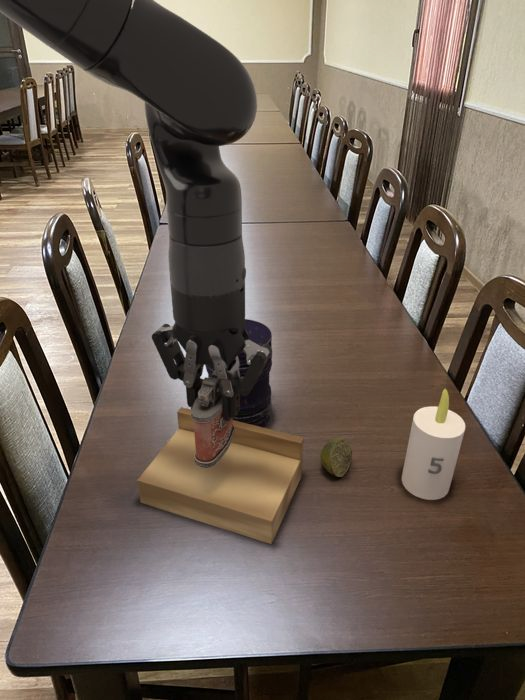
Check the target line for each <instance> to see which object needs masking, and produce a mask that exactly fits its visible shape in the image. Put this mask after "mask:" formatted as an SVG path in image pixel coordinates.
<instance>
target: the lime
mask: <svg viewBox="0 0 525 700" xmlns="http://www.w3.org/2000/svg"><path fill="white" fill-rule="evenodd" d="M319 457H320V462H321V464H322V466H323V467H324V469H325V471H327V473H329V474H331V475H332V476H335V477H337V478H342V477H344V475H345V474H346V473H347V472H348V470H349V469H350V466H351V462H352V460H353V450H352V446H351V443H350V442H349V441H348V440H345V439H343V438H339V437H336V438H333V439H331V440H328V441H327V442H326V443H325V444H324V445H323V447H322V449H321V451H320V456H319Z"/></svg>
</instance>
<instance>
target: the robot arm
mask: <svg viewBox="0 0 525 700" xmlns="http://www.w3.org/2000/svg"><path fill="white" fill-rule="evenodd" d="M0 13H1V14H2V15H4V17H6V18H7V19H9V20H11V22H13V23H15V24H16V25H18V26H19V27H20V28H22V29H23V30H25V31H26V32H27V33H29V34H31V35H32V36H33V37H35V38H36V39H37V40H39V41H40V42H42V43H43V44H44V45H46V46H47V47H49V48H50V49H52V50H54V51H55V52H56V53H58V54H59V55H61V56H62V57H64V58H65V59H67V60H68V61H70V62H71V63H72V64H73V65H75V66H77V67H78V68H80V69H81V70H82V71H84V72H86V73H87V74H89V75H90V76H92V77H94V78H96V79H97V80H99V81H101V82H103V83H105V84H107V85H110V86H112V87H115V88H118V89H120V90H124V91H126V92H128V93H130V94H132V95H134V96H136V97H137V98H139V99H140V100H142V101H143V102H144V112H145V113H144V114H145V119H146V124H147V129H148V133H149V136H150V141H151V145H152V149H153V152H154V155H155V160H156V163H157V167H158V170H159V173H160V175H161V178H162V181H163V182H162V183H163V185H164V189H165V199H166V200H165V202H166V216H167V217H166V218H167V229H168V253H167V254H168V255H167V257H168V259H167V260H168V272H169V282H170V293H171V294H170V296H171V305H172V306H171V307H172V318H173V320H174V323H173V325H170V324H168V323H164V324H162V325H161V326H160V327H159V328H158V329H156V330H155V331H154V332H153V333H152V334H151V340H152V342H153V345H154V346H155V348H156V350H157V352H158V355H159V357H160V359H161V361H162V363H163V366H164V367H165V370H166V372H167V374H168V376H169V378H170V379H172V380H174V381H175V380H179V381H182V383H183V385H184V387H185V394H186V404H187V406H188V407H189V408H190V409H192V407H193V404H194V402H195V400H196V399H197V397H198V392H199V390H200V389H201V386H202V382H203V380H204V378H201V377H202V376H203V372H204V368H205V367H204V366H205V365H209V366H211V367H214V368H215V372H216V375H217V379H218V380H220V381H221V385H222V388H223V392H224V394H223V395H222V408H223V420H225V421H229V422H230V420H231V419H232V418H234V417H235V416H236V414H237V413H238V411H239V409H240V395H242V396H247V395H248V394H249V392H250V390H251V389H252V387H253V386H254V385H255V384H256V382H257V380H258V378H259V376H260V374H261V372H262V370H263V368H264V366H265V364H266V362H267V360H268V358H269V356H270V354H271V352H272V353H273V347H272V348H271V346H270V345H268V344H264V345H262V347H261V346H259V345H258V344H256V343H254V342H252V341H251V340H249V335H248V333H247V331H246V329H245V319H246V277H247V268H246V255H245V249H244V247H245V246H244V241H243V215H242V214H243V207H242V206H243V204H242V202H243V200H242V188H241V183H240V180H239V178H238V177H237V176H236V174H235V173H234V172H233V171H231V170H230V168H229V167H228V166H227V165H226V164H225V163H224V161H223V159H222V156H221V155H222V154H221V149H220V147H224V146H225V147H226V146H228V145H232V144H234V143H236V142H238V141H239V140H241V139H242V138H243V137H245V136H246V134H248V132H249V131H250V129H251V128H252V126H253V124H254V123H255V120H256V117H257V111H258V94H257V90H256V85H255V83H254V81H253V79H252V76H251V75H250V73H249V71H248V69H247V68H246V66H245V65H244V64H243V63H242V61H241V60H240V59H239V58H238V57H237V56H236V55H235V54H234V53H233V52H232V51H230V49H228V48H227V47H225V46H224V45H223V44H222V43H221V42H219V41H218V40H217V39H215V38H213V37H212V36H211V35H208V34H207V33H206V32H204V31H203V30H202V29H199V28H198V27H197V26H195V25H193V24H192V23H191V22H189V21H188V20H186V19H184V18H183V17H182V16H180V15H178V14H176V13H174V12H173V11H171V10H170V9H168V8H166V7H164V6H162V5H161V4H160V3H158V2H157V1H156V0H0ZM182 349H183V350H184V352H185V354H184V352H183V351H182ZM242 350H244V351H245V352H246V355H247V356H246V360H247V364H248V365H250V366H249V368H248V370H247V372H246V374H245V376H244V378H241V376H240V372H239V366H240V363H239V358H238V355H239V353H240V352H241V351H242Z"/></svg>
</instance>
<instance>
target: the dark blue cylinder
mask: <svg viewBox="0 0 525 700" xmlns="http://www.w3.org/2000/svg"><path fill="white" fill-rule="evenodd" d="M245 329H246V331H247V333H248V335H249V340H251V341H252V342H254V343H256V344H258V345H259V346H261V347H262V345H264V344H268V345H270V346H271V348H272V349H273V347H272V346H273V345H272V344H273V343H272V341H273V333H272V330H271V329H270V328H269V327H268V326H267V325H265V324H264V323H263V322H260V321H257V320H253V319H248V318H245ZM246 356H247V355H246V352H245V351H244V350H242V351H241V352H240V353H239V355H238V358H239V363H240V366H239V372H240V376H241V378H244V376H245V374H246V372H247V370H248V368H249V366H250V365H248V364H247V360H246ZM272 359H273V351H272V352H271V354H270V356H269V358H268V360H267V362H266V364H265V366H264V368H263V370H262V372H261V374H260V376H259V378H258V380H257V382H256V384H255V385H254V386H253V387H252V389H251V390H250V392H249V394H248V395H247V396H242V395H240V409H239V411H238V413H237V414H236V416H235V417H234V418H233V420H235V421H239V422H243V423H247V424H251V425H255V426H259V427H263V428H267V426H268V425H269V423H270V420H271V408H272V394H273V393H272V387H271V385H270V372H271V370H272V366H273V360H272ZM204 366H205V371H206V373H207V378H209V377H210V376H211V375H212V373H213V372H214V371H215V368H214V367H211V366H209V365H204Z"/></svg>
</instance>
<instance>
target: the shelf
mask: <svg viewBox="0 0 525 700" xmlns="http://www.w3.org/2000/svg"><path fill="white" fill-rule="evenodd" d="M176 413H177V414H176V415H177V425H178V429H177V430H176V431H175V432H174V434H173V435H171V437H170V439H169V440H168V441H167V442H166V443H165V445H164V446H163V448H162V449H161V450H160V451H159V452H158V454H157V455H156V456H155V458H154V459H152V461H151V462H150V463H149V465H148V466H147V467H146V468H145V470H144V471H143V472H142V473H141V475H140V476H139V477H138V479H137V487H138V495H139V500H140V503H141V504H144V505H147V506H149V507H154V508H157V509H159V510H163V511H165V512H169V513H171V514H174V515H178V516H180V517H184V518H187V519H191V520H193V521H197V522H199V523H204V524H206V525H210V526H213V527H216V528H219V529H222V530H225V531H227V532H232V533H234V534H238V535H240V536H244V537H248V538H250V539H253V540H257V541H259V542H263V543H266V544H269V545H272V544H273V543H274V540H275V537H276V536H277V534H278V531H279V529H280V526H281V524H282V521H283V519H284V517H285V515H286V513H287V511H288V508H289V506H290V504H291V502H292V499H293V497H294V495H295V493H296V491H297V488H298V485H299V483H300V481H301V479H302V472H303V471H302V470H303V458H304V457H303V456H304V439H305V438H304V437H303V436H298V435H294V434H290V433H287V432H282V431H278V430H274V429H271V428H267V427H265V428H263V427H259V426H255V425H251V424H247V423H243V422H239V421H235V420H233V424H234V432H235V433H234V436H233V440H232V442H231V444H230V447H229V449H228V450H227V452H226V453H225V454H224V456H223V457H222V458H221V459H220V461H219V462H218V463H217V464H216V465H215V466H213V467H211V468H201V467H198V466H197V465H196V464H195V458H194V456H195V452H196V448H195V434H194V420H193V419H192V417H191V408H188V407H187V408H186V407H183V406H180V408H179V409H178V410H177V412H176Z"/></svg>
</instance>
